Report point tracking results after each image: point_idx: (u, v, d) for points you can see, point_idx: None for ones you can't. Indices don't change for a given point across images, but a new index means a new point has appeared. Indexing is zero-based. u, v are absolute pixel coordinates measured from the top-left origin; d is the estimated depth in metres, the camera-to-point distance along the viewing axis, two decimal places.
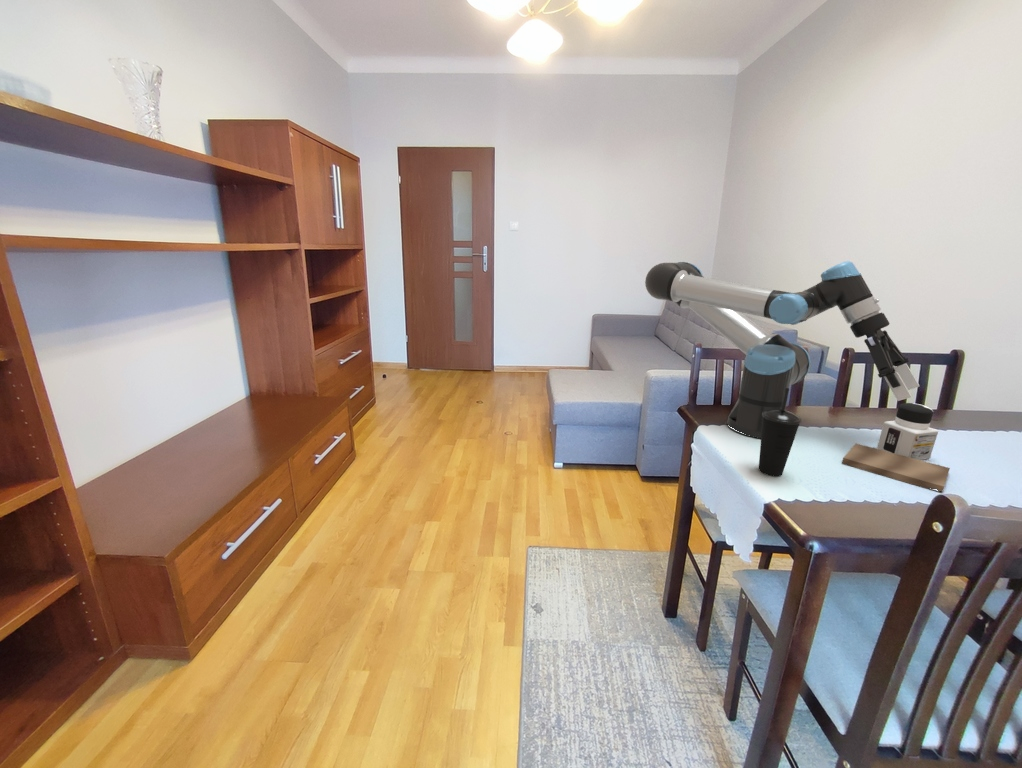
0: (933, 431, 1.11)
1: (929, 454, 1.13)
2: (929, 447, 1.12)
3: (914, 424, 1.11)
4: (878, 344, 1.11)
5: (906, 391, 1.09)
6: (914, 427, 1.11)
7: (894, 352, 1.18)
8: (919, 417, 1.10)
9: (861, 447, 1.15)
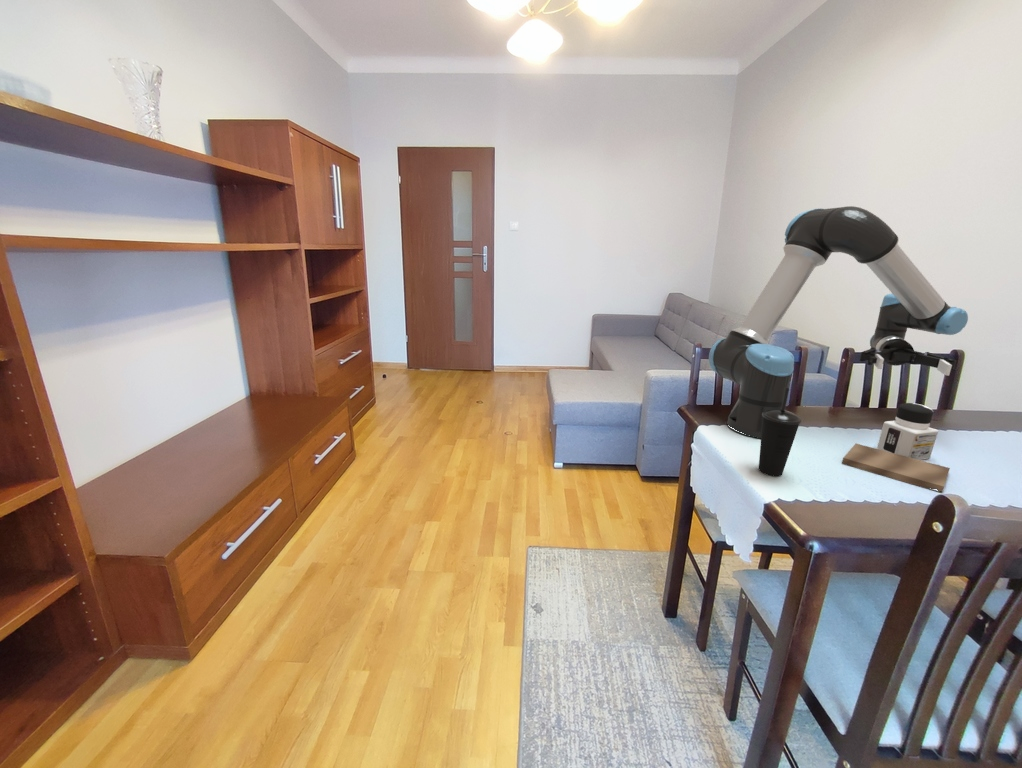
0: (933, 431, 1.11)
1: (929, 454, 1.13)
2: (929, 447, 1.12)
3: (914, 424, 1.11)
4: None
5: None
6: (914, 427, 1.11)
7: None
8: (919, 417, 1.10)
9: (861, 447, 1.15)
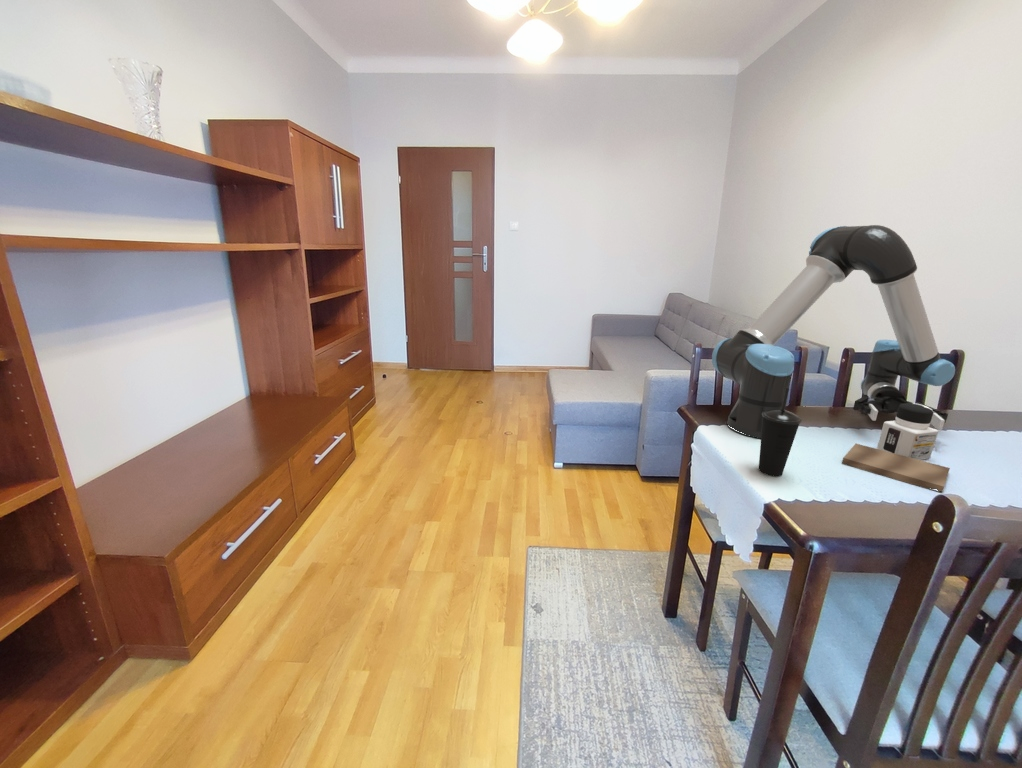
0: (933, 431, 1.11)
1: (929, 454, 1.13)
2: (929, 447, 1.12)
3: (914, 424, 1.11)
4: None
5: None
6: (914, 427, 1.11)
7: (876, 408, 1.29)
8: (919, 417, 1.10)
9: (861, 447, 1.15)
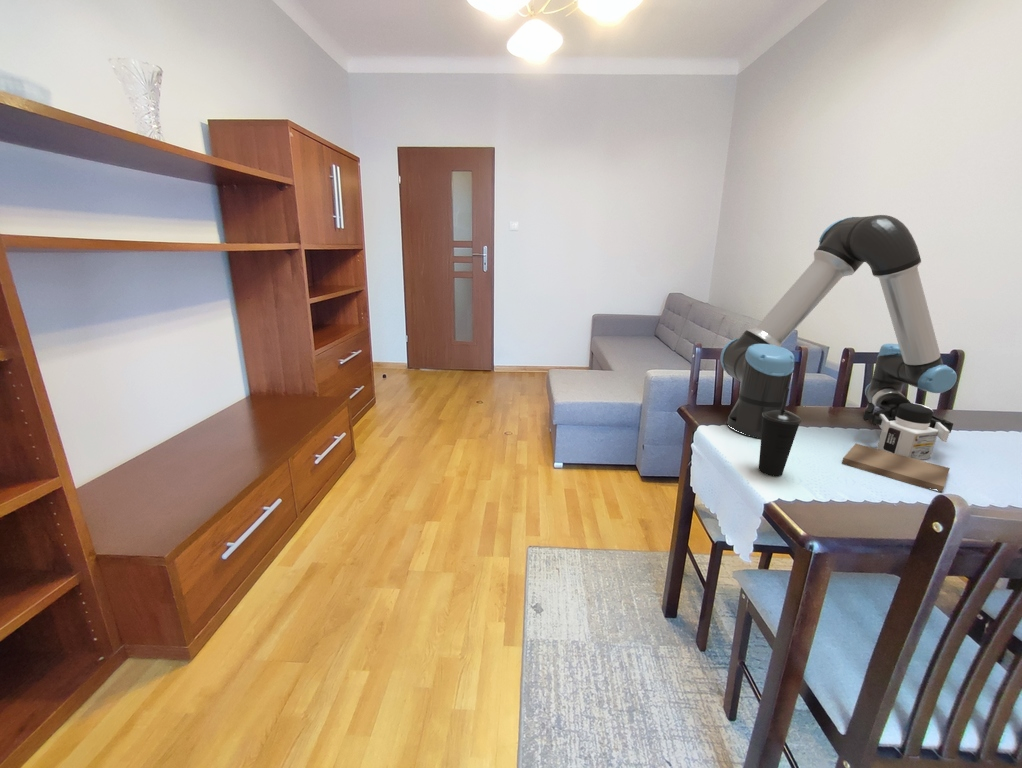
0: (933, 431, 1.11)
1: (929, 454, 1.13)
2: (929, 447, 1.12)
3: (914, 424, 1.11)
4: None
5: None
6: (914, 427, 1.11)
7: None
8: (919, 417, 1.10)
9: (861, 447, 1.15)
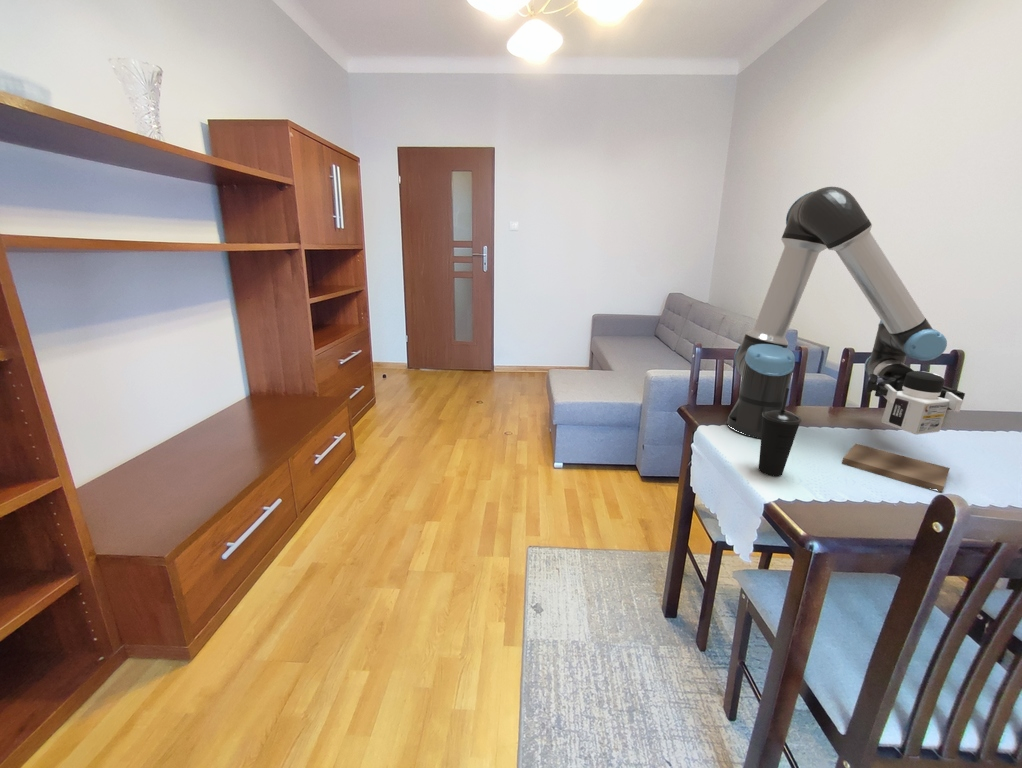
0: (944, 401, 1.01)
1: (939, 427, 1.03)
2: (940, 419, 1.02)
3: (924, 393, 1.00)
4: None
5: None
6: (923, 397, 1.01)
7: None
8: (929, 385, 1.00)
9: (861, 447, 1.15)
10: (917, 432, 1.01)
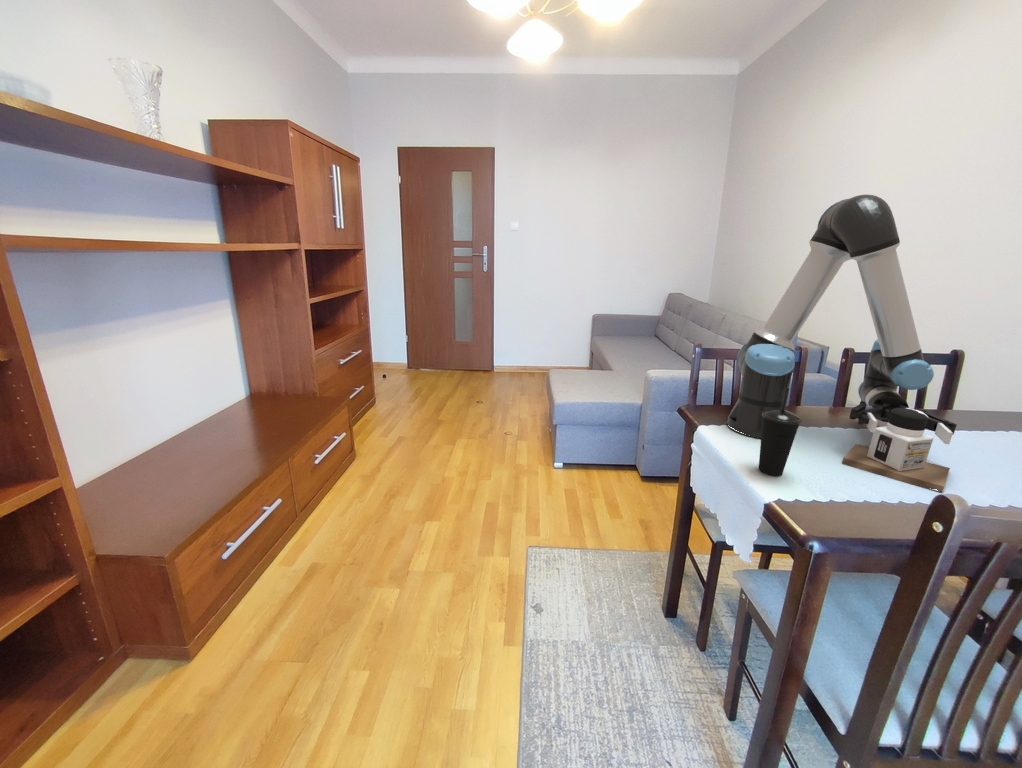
0: (927, 438, 1.02)
1: (923, 463, 1.04)
2: (924, 456, 1.04)
3: (907, 431, 1.02)
4: None
5: None
6: (907, 434, 1.03)
7: (875, 417, 1.13)
8: (912, 424, 1.01)
9: (861, 447, 1.15)
10: (900, 468, 1.03)
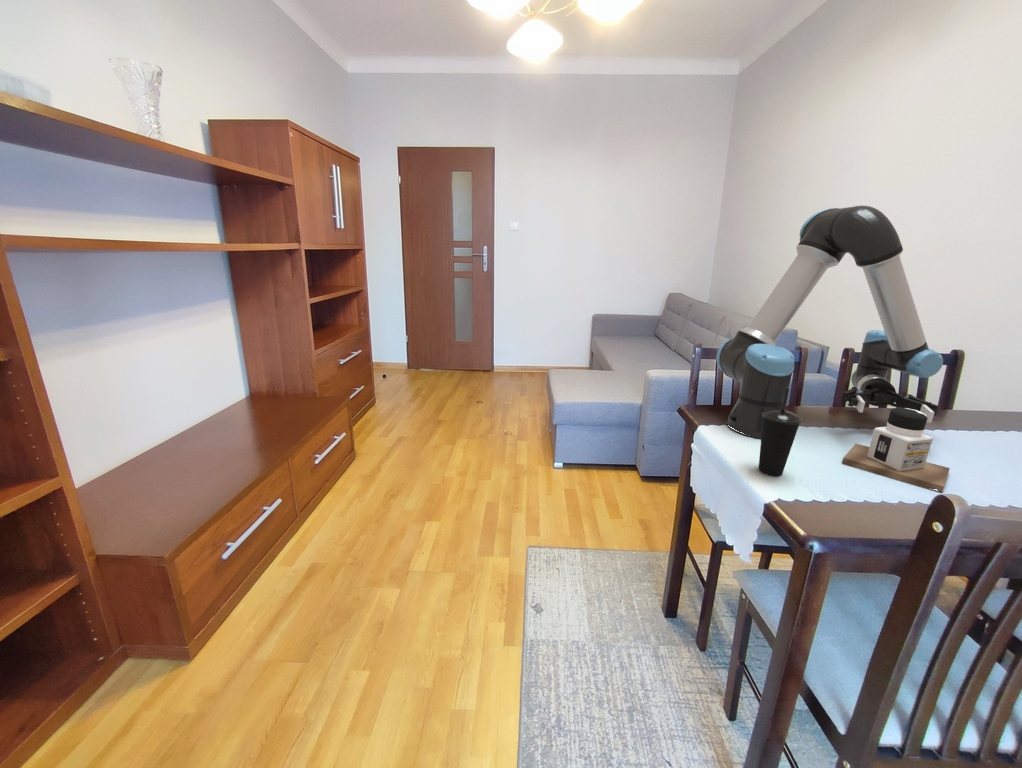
0: (927, 438, 1.02)
1: (923, 463, 1.04)
2: (923, 456, 1.04)
3: (906, 431, 1.02)
4: None
5: None
6: (906, 434, 1.03)
7: (864, 400, 1.24)
8: (911, 423, 1.01)
9: (861, 447, 1.15)
10: (900, 468, 1.03)
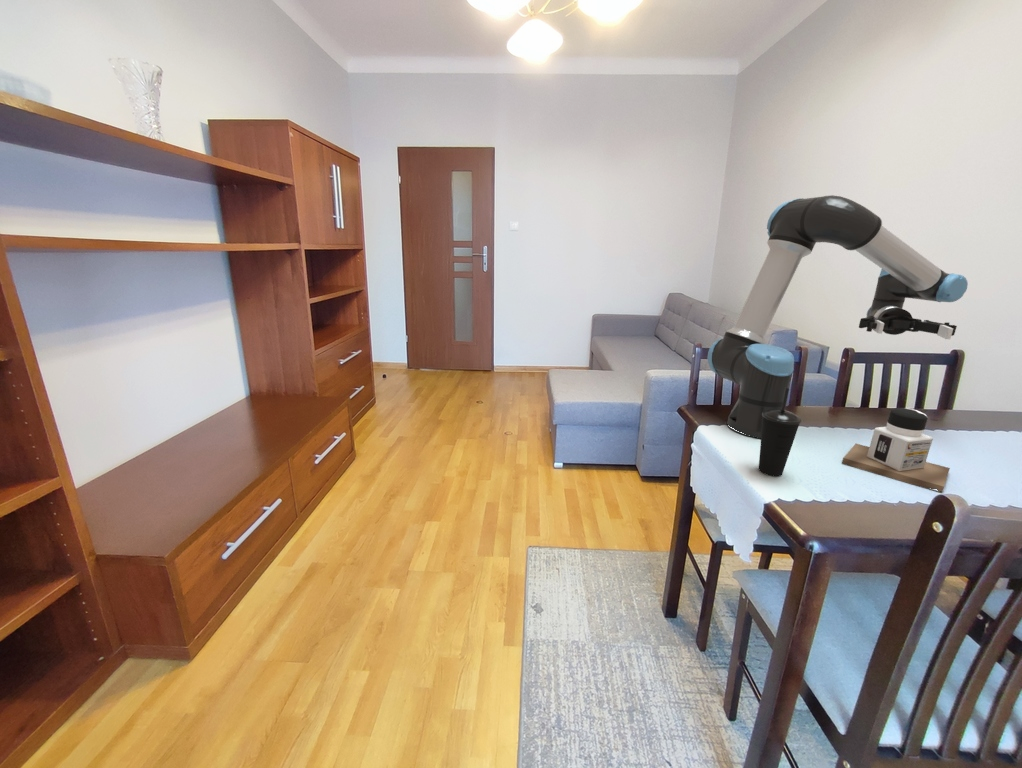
0: (927, 438, 1.02)
1: (923, 463, 1.04)
2: (923, 456, 1.04)
3: (906, 431, 1.02)
4: None
5: None
6: (906, 434, 1.03)
7: (882, 326, 1.26)
8: (911, 423, 1.01)
9: (861, 447, 1.15)
10: (900, 468, 1.03)
